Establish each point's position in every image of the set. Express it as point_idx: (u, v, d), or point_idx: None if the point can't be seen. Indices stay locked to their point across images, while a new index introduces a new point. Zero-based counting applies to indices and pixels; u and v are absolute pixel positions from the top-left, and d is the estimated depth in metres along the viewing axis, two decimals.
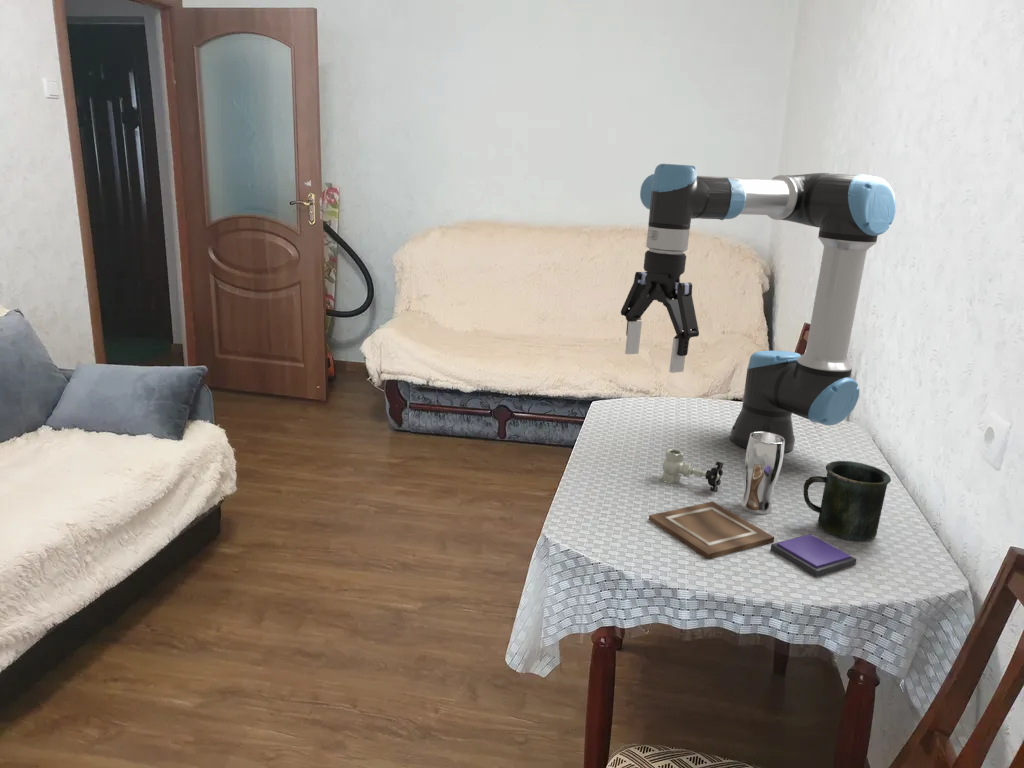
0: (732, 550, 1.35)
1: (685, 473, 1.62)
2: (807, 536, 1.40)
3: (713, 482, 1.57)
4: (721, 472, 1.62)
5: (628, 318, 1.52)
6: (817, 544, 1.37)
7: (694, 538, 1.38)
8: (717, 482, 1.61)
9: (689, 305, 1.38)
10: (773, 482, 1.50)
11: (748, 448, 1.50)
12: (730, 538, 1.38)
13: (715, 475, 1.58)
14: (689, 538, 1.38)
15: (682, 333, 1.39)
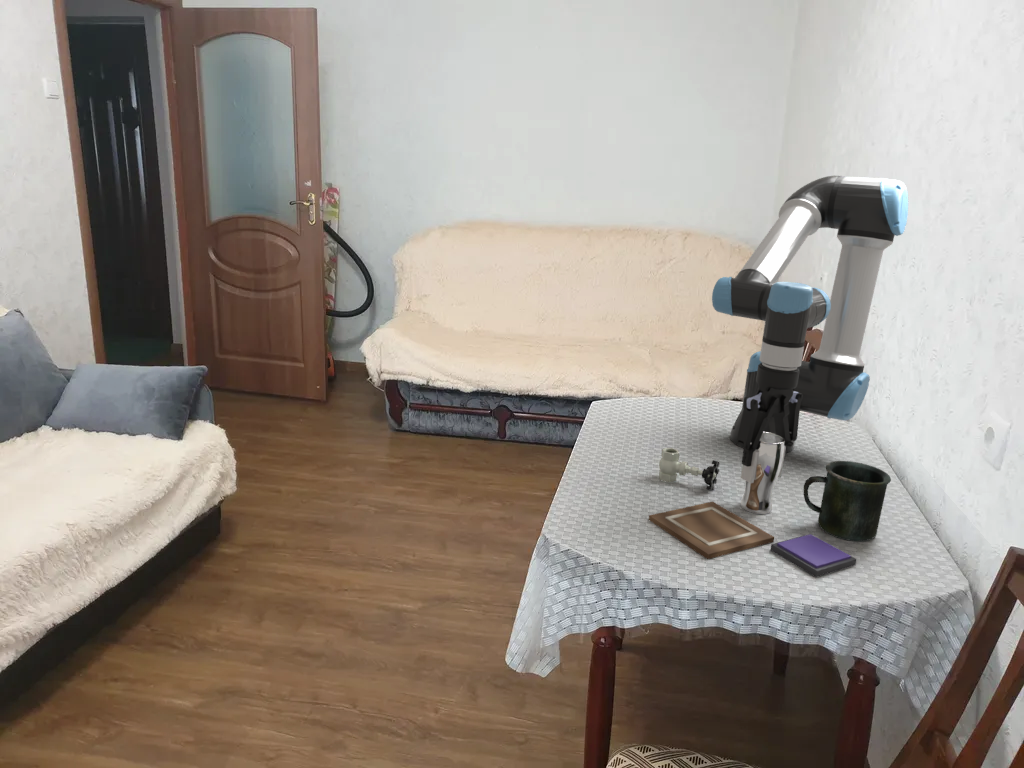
0: (732, 550, 1.35)
1: (681, 472, 1.62)
2: (807, 536, 1.40)
3: (709, 481, 1.58)
4: (717, 471, 1.62)
5: None
6: (817, 544, 1.37)
7: (694, 538, 1.38)
8: (713, 481, 1.62)
9: (747, 419, 1.45)
10: (773, 482, 1.50)
11: None
12: (730, 538, 1.38)
13: (711, 474, 1.59)
14: (689, 538, 1.38)
15: None
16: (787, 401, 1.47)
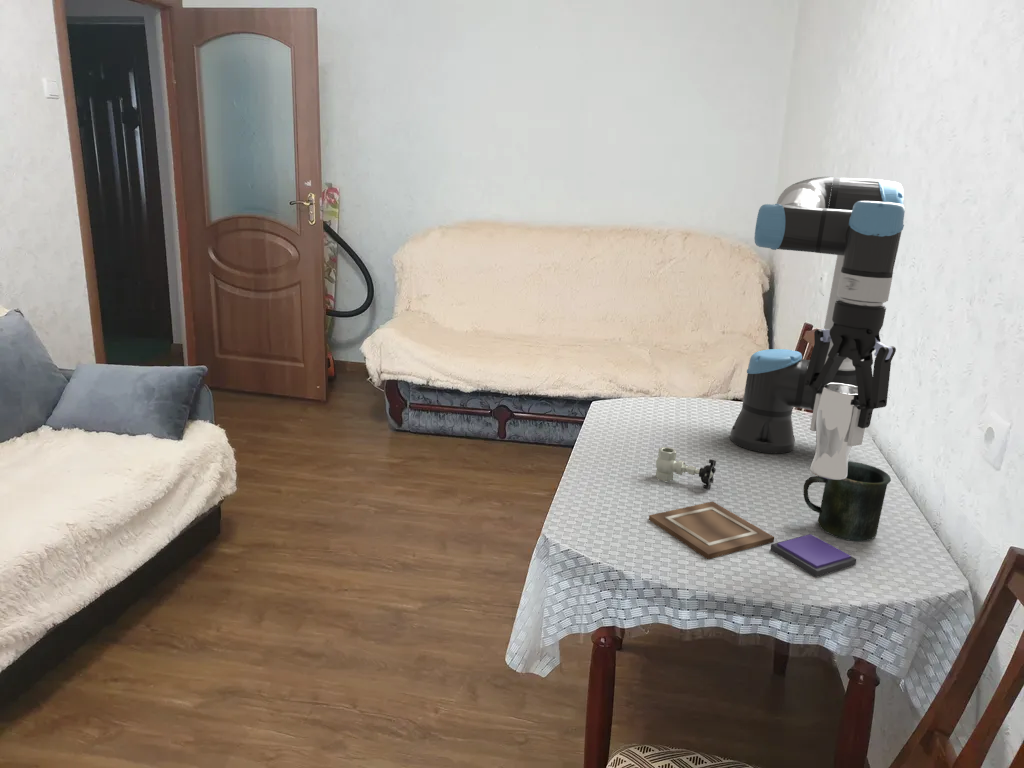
0: (732, 550, 1.35)
1: (678, 471, 1.62)
2: (807, 536, 1.40)
3: (706, 480, 1.58)
4: (714, 470, 1.63)
5: (816, 389, 1.30)
6: (817, 544, 1.37)
7: (694, 538, 1.38)
8: (710, 480, 1.62)
9: (885, 373, 1.20)
10: None
11: (851, 409, 1.24)
12: (730, 538, 1.38)
13: (708, 473, 1.59)
14: (689, 538, 1.38)
15: (866, 403, 1.22)
16: None
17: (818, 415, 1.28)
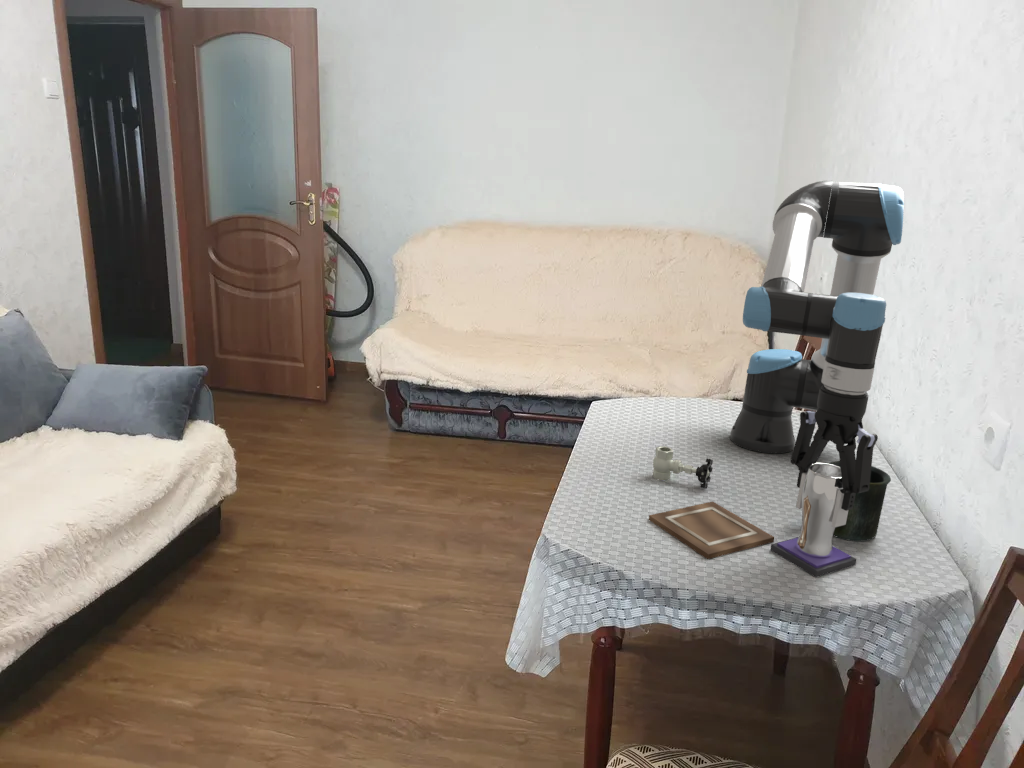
0: (732, 550, 1.35)
1: (675, 470, 1.63)
2: None
3: (703, 479, 1.59)
4: (711, 469, 1.63)
5: (802, 469, 1.34)
6: None
7: (694, 538, 1.38)
8: (707, 479, 1.62)
9: (868, 459, 1.24)
10: None
11: (835, 491, 1.28)
12: (730, 538, 1.38)
13: (705, 472, 1.59)
14: (689, 538, 1.38)
15: (850, 487, 1.26)
16: None
17: (803, 495, 1.32)
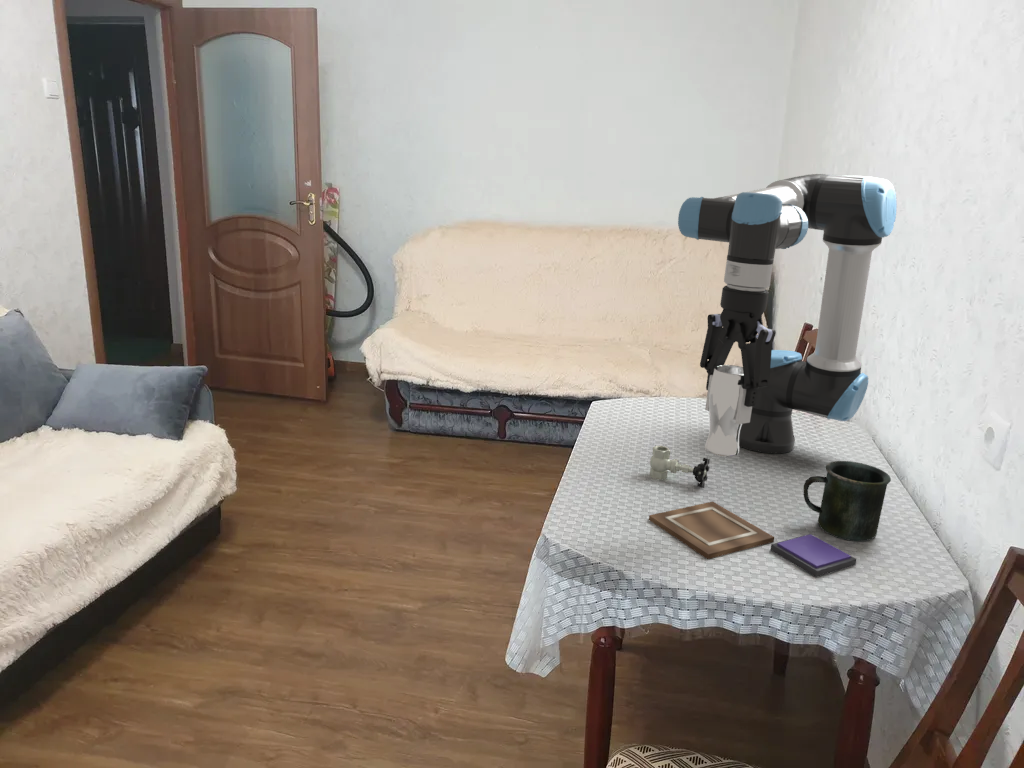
0: (732, 550, 1.35)
1: (672, 469, 1.63)
2: (807, 536, 1.40)
3: (700, 478, 1.59)
4: (708, 468, 1.63)
5: (710, 371, 1.38)
6: (817, 544, 1.37)
7: (694, 538, 1.38)
8: (704, 478, 1.63)
9: (767, 354, 1.28)
10: None
11: (737, 389, 1.32)
12: (730, 538, 1.38)
13: (702, 471, 1.60)
14: (689, 538, 1.38)
15: (751, 383, 1.30)
16: None
17: (710, 395, 1.36)
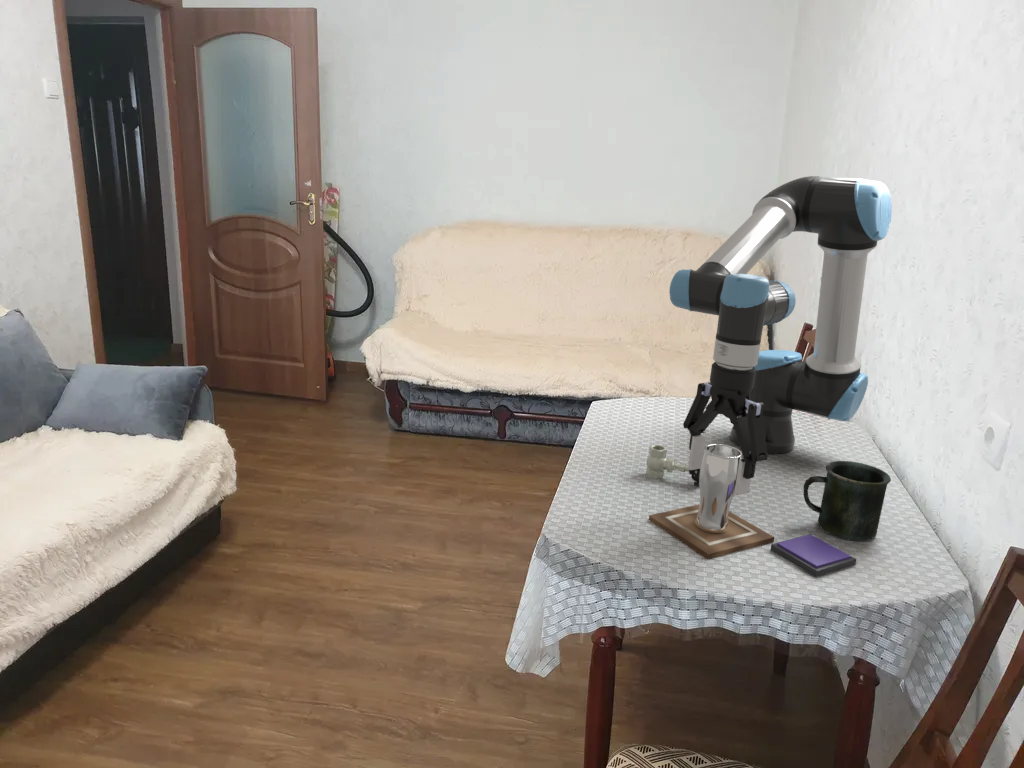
0: (732, 550, 1.35)
1: (669, 468, 1.64)
2: (807, 536, 1.40)
3: (697, 477, 1.59)
4: None
5: (692, 432, 1.43)
6: (817, 544, 1.37)
7: (694, 538, 1.38)
8: None
9: (759, 427, 1.31)
10: None
11: (727, 470, 1.36)
12: (730, 538, 1.38)
13: (699, 470, 1.60)
14: (689, 538, 1.38)
15: (749, 456, 1.32)
16: None
17: (700, 474, 1.40)
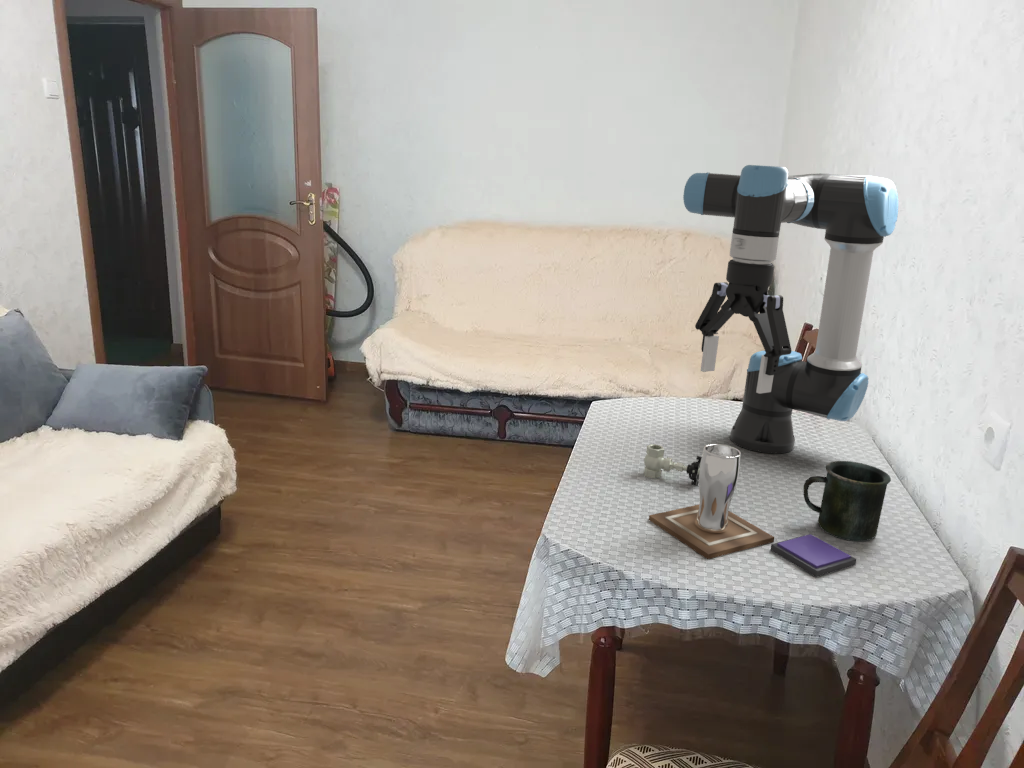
0: (732, 550, 1.35)
1: (666, 468, 1.64)
2: (807, 536, 1.40)
3: (694, 476, 1.60)
4: None
5: (704, 333, 1.40)
6: (817, 544, 1.37)
7: (694, 538, 1.38)
8: (698, 476, 1.64)
9: (780, 320, 1.26)
10: None
11: (726, 470, 1.36)
12: (730, 538, 1.38)
13: (696, 469, 1.60)
14: (689, 538, 1.38)
15: (772, 351, 1.27)
16: None
17: (699, 474, 1.40)
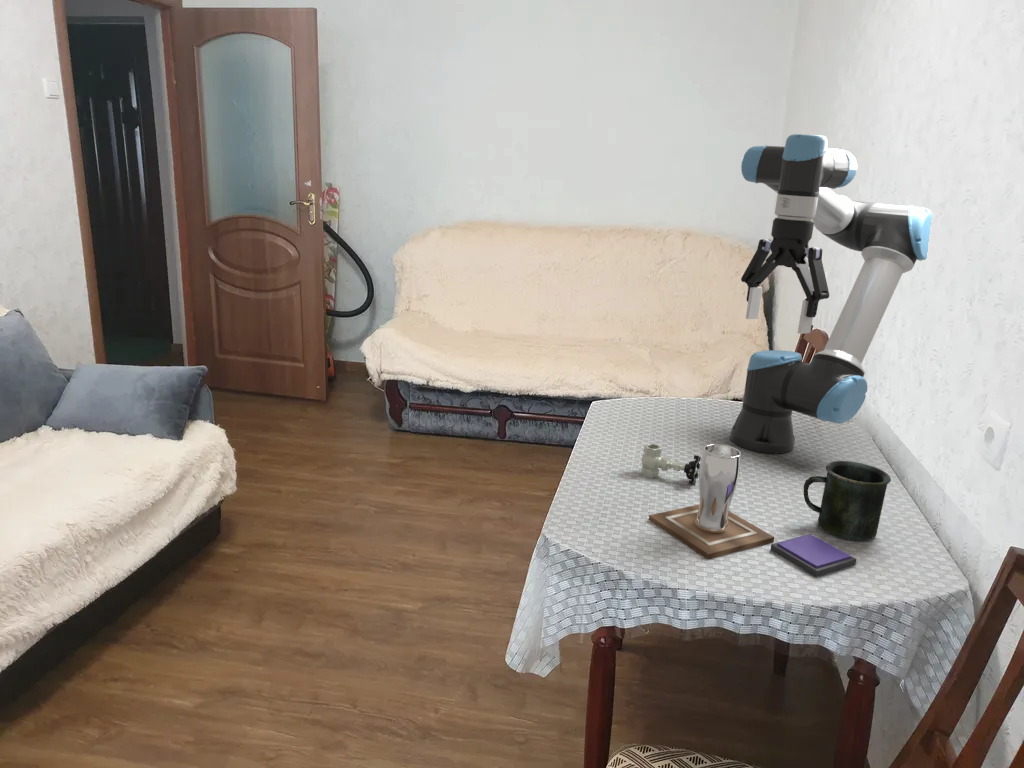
0: (732, 550, 1.35)
1: (664, 467, 1.64)
2: (807, 536, 1.40)
3: (692, 475, 1.60)
4: (699, 465, 1.64)
5: (750, 284, 1.59)
6: (817, 544, 1.37)
7: (694, 538, 1.38)
8: (695, 475, 1.64)
9: (820, 269, 1.46)
10: None
11: (726, 470, 1.36)
12: (730, 538, 1.38)
13: (693, 468, 1.61)
14: (689, 538, 1.38)
15: (813, 295, 1.46)
16: None
17: (699, 474, 1.40)
